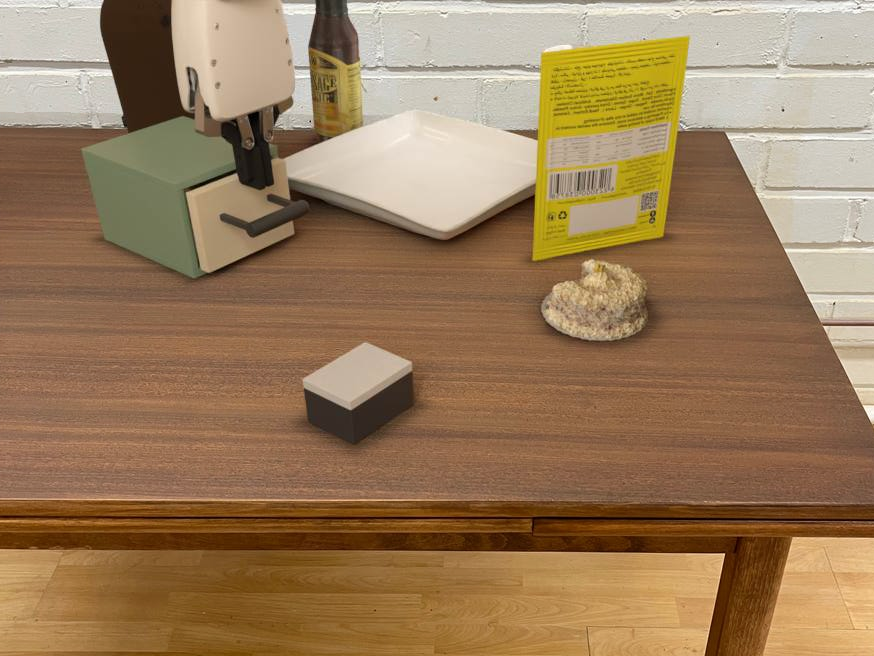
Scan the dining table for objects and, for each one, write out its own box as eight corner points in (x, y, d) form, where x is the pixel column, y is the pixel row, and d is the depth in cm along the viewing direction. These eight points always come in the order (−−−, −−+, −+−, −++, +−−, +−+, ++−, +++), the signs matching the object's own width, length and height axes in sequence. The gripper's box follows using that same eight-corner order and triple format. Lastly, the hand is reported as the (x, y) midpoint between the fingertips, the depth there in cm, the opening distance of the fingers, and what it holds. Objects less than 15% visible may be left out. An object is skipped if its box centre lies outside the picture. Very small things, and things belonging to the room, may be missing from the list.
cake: (661, 307, 90) (673, 256, 87) (626, 358, 84) (637, 305, 80) (565, 277, 93) (572, 227, 90) (523, 324, 86) (529, 271, 83)
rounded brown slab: (235, 150, 121) (200, -75, 105) (187, 180, 113) (142, -59, 97) (163, 140, 123) (119, -82, 108) (112, 168, 116) (56, -66, 100)
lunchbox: (354, 445, 72) (349, 401, 70) (307, 422, 75) (301, 378, 72) (414, 404, 77) (412, 361, 74) (368, 383, 79) (365, 341, 77)
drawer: (330, 247, 97) (322, 172, 92) (245, 288, 90) (231, 210, 85) (209, 201, 106) (196, 131, 101) (123, 236, 99) (105, 162, 94)
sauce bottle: (306, 141, 123) (287, -30, 111) (345, 130, 127) (331, -37, 114) (336, 155, 120) (320, -20, 107) (375, 143, 123) (364, -28, 110)
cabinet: (288, 235, 101) (277, 145, 95) (194, 279, 93) (175, 183, 87) (199, 201, 108) (182, 115, 102) (104, 239, 100) (80, 148, 94)
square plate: (447, 264, 96) (447, 227, 94) (261, 198, 109) (256, 164, 107) (590, 182, 113) (593, 149, 111) (414, 133, 126) (412, 103, 123)
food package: (660, 235, 102) (687, 34, 89) (665, 239, 101) (693, 37, 88) (530, 259, 97) (538, 51, 85) (534, 263, 96) (544, 54, 84)
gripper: (260, -51, 85) (287, 152, 97) (119, -20, 76) (168, 200, 88) (319, -40, 82) (340, 169, 93) (179, -7, 73) (222, 221, 84)
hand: (256, 184), depth 91 cm, fingers closed
